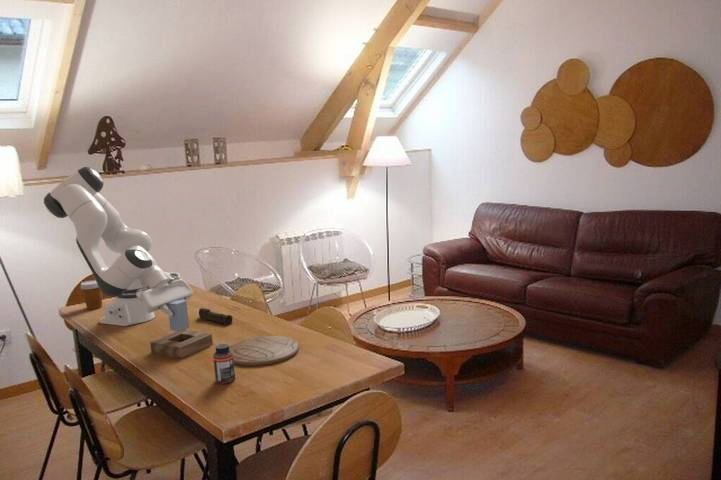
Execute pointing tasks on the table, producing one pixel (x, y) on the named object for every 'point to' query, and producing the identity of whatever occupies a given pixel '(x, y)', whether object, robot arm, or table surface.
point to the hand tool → (215, 316)
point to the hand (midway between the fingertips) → (179, 313)
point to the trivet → (263, 350)
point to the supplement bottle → (223, 364)
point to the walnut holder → (181, 343)
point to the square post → (179, 315)
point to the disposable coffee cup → (92, 294)
